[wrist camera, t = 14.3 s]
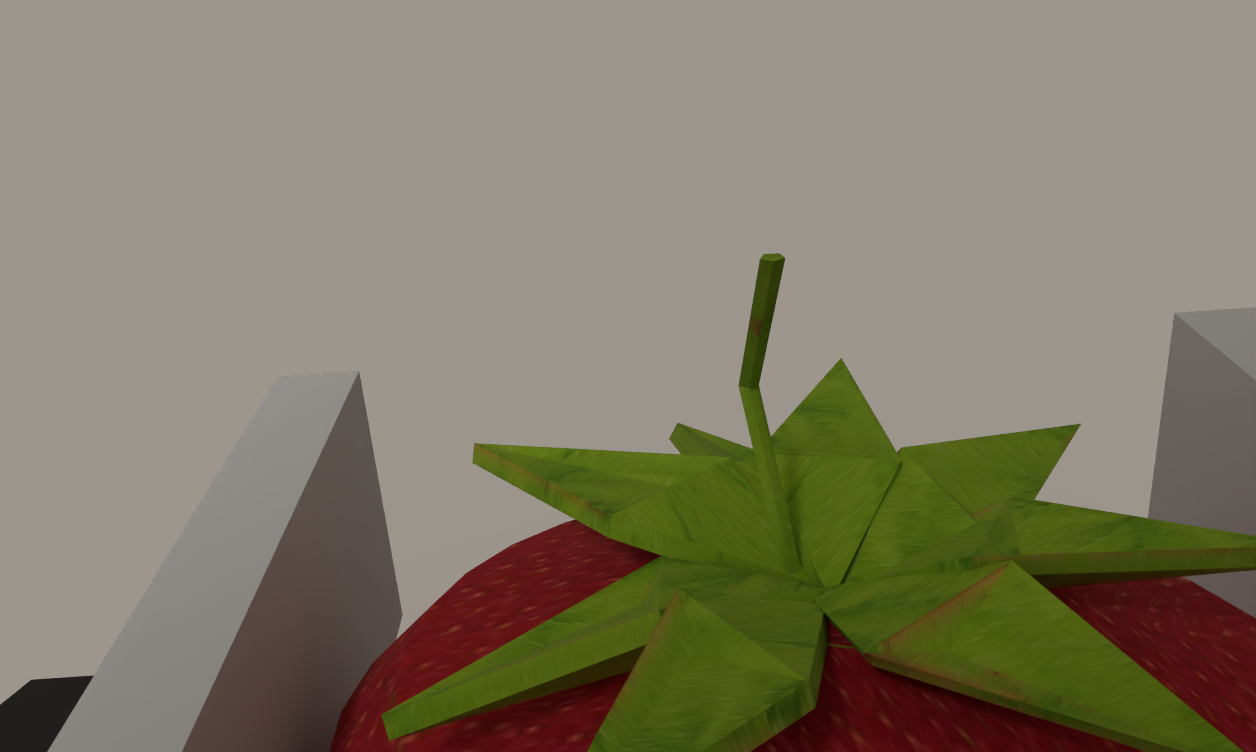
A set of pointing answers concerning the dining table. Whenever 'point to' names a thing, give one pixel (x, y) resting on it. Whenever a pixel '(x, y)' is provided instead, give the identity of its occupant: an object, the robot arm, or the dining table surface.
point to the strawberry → (820, 603)
